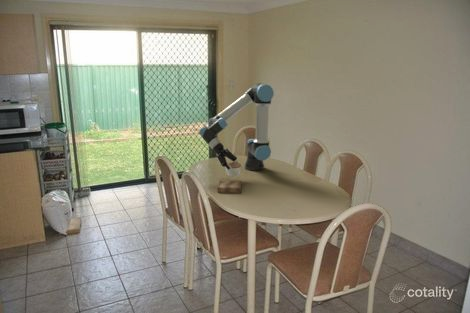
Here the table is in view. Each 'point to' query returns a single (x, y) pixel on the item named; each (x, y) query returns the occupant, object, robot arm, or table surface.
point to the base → (229, 186)
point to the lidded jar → (235, 167)
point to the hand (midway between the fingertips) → (236, 170)
